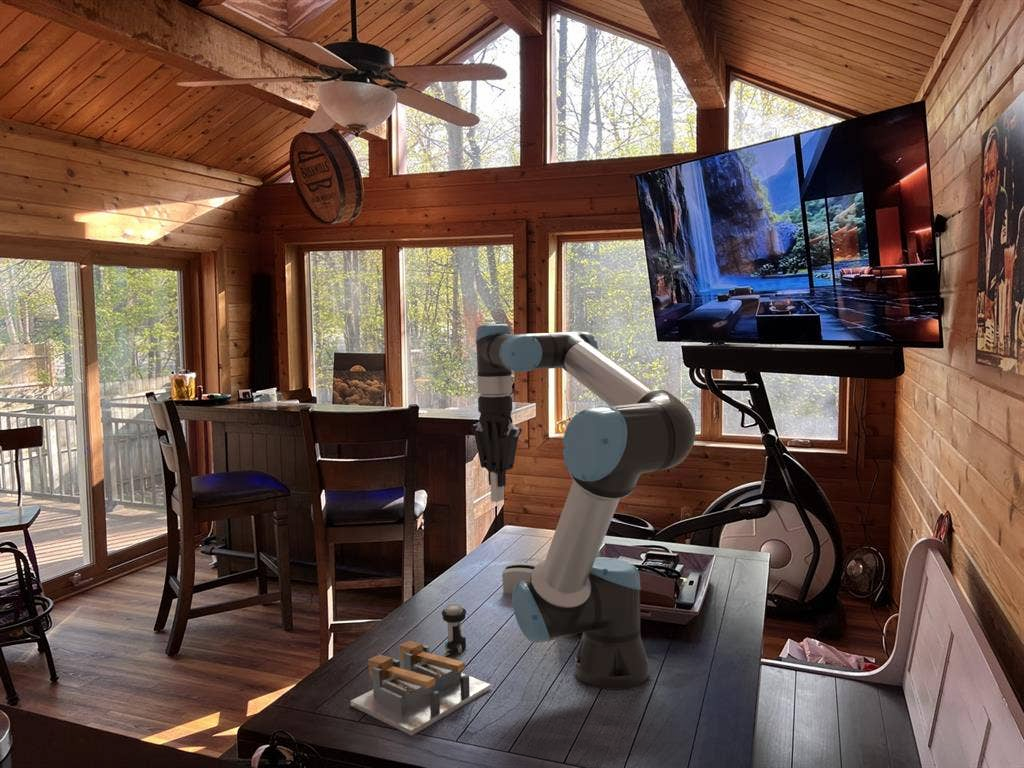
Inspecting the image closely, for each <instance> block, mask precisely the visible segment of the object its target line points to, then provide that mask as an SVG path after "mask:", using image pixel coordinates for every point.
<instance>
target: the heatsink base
mask: <svg viewBox="0 0 1024 768" xmlns="http://www.w3.org/2000/svg"><path fill="white" fill-rule="evenodd" d="M422 644H423V652H427V653H430V646H429V645H427V644H424V643H422ZM392 658H393V666H394V667H398V668H401V660H400V659H396V658H394V657H392ZM403 669H405V670H409V671H412V672H416V673H419V674H423V675H426V676H430V677H434V678H435V685H433V686H431V687H430V688H424V687H421V686H417V685H414V684H411V683H407V682H404V681H401V680H397V679H394V678H390V681H389V680H387V679H386V680H383V672H382V669H381V668H378V667H376V666H375V667H373V668H372V672H373V677H372V689H371V690H369V691H367V692H366V693H363V694H361V695H359V696H357V697H355V698H353V699H351V700H350V706H351V707H353V708H354V709H357V710H359V711H361V712H363V713H365V714H367V715H369V716H371V717H372V718H375V719H377V720H378V721H381V722H384V723H385V724H387V725H389V726H391V727H393V728H394V729H397V730H399V731H401V732H403V733H405V734H407V735H408V736H411V737H412V736H414V735H416V734H417V733H419V732H422V730H424V729H426V728H427V727H430V726H431V725H432V724H435V723H436V722H437V721H440V720H441V719H443V718H444V717H446V716H448V715H450V714H452V713H453V712H454V711H456V710H458V709H460V708H461V707H463V706H465V705H467V704H468V703H470V702H471V701H473V700H475V699H476V698H478V697H480V696H481V695H484V694H485V693H487V692H488V691H490V690H492V688H491V687H492V686H491V684H490V683H488V682H485V681H483V680H481V679H478V678H475V677H472V676H470V675H469V674H467V673H466V674H465V673H463V672H462V670H461V671H460V672H456V671H452V670H448V669H444V668H441V667H437V666H433V665H430V664H426V663H422V662H420V663H419V664H415V665H414V657H413V654H411V653H409V652H405V653H404V662H403Z"/></svg>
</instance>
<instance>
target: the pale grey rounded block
mask: <svg viewBox="0 0 1024 768" xmlns="http://www.w3.org/2000/svg"><path fill="white" fill-rule="evenodd" d="M537 564H538V563H532V562H513V563H509V564H507V566H505V568H504V569H503V571H502V574H501V575H502V577H501V578H502V589H503V594H508V595H509V594H510V595H512V593H513V588H514V586H515V585H516V584H517V583H520V582H521V581H524V582H526V581H529V580H530V578H531V575H532V572H533V570H534V568H535V566H536V565H537Z"/></svg>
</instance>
